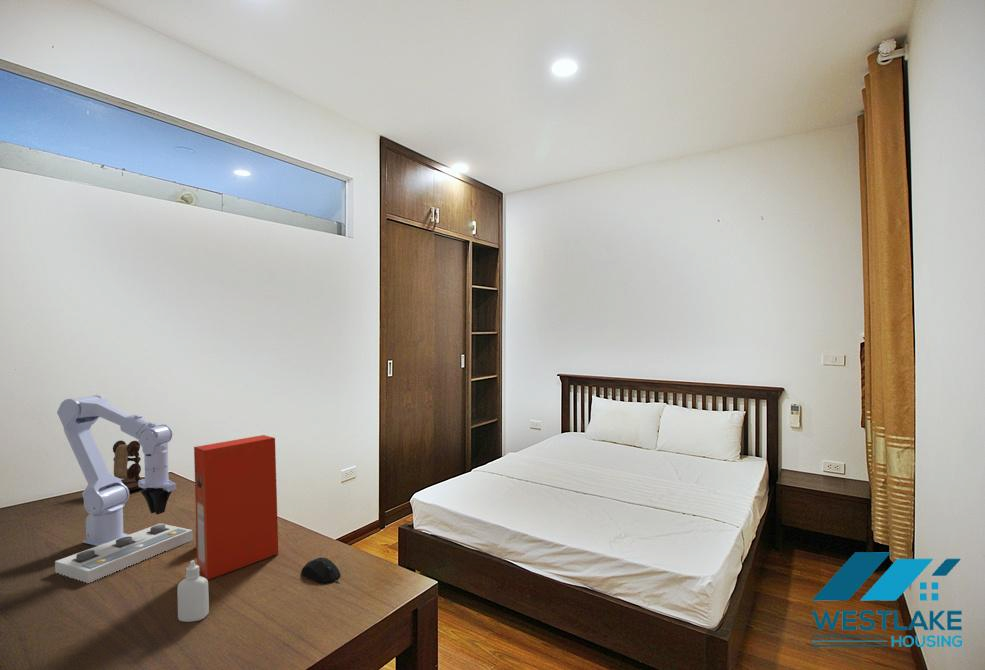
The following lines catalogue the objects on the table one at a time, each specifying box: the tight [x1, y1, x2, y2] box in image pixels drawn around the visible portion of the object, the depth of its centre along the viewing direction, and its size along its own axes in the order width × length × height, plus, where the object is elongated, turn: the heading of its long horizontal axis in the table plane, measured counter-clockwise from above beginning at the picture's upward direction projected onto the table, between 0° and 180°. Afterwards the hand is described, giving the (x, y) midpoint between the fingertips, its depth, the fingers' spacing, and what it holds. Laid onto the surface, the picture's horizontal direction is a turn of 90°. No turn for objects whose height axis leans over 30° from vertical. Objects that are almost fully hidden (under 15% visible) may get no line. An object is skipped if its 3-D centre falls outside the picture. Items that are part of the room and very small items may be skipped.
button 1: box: [76, 549, 95, 563], centre depth 122 cm, size 4×4×2 cm
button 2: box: [150, 523, 165, 535], centre depth 139 cm, size 4×4×2 cm
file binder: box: [193, 434, 279, 580], centre depth 124 cm, size 8×17×32 cm, turn 139°
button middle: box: [116, 536, 132, 548], centre depth 131 cm, size 4×4×2 cm
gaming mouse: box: [301, 557, 341, 585], centre depth 116 cm, size 6×15×4 cm, turn 53°
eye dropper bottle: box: [176, 560, 210, 623], centre depth 99 cm, size 4×6×12 cm
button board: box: [54, 523, 194, 584], centre depth 130 cm, size 15×26×3 cm, turn 157°
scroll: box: [105, 440, 145, 491], centre depth 189 cm, size 15×15×20 cm
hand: (157, 512), depth 139 cm, fingers closed
